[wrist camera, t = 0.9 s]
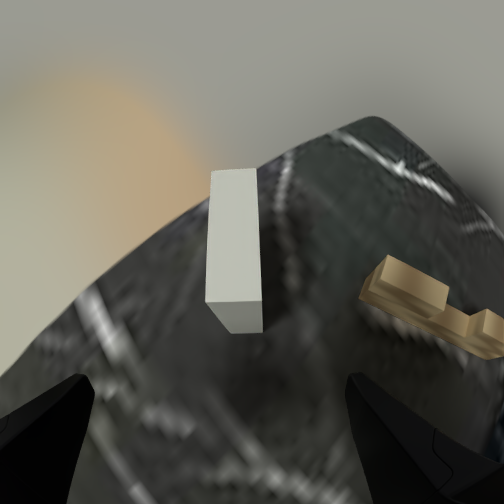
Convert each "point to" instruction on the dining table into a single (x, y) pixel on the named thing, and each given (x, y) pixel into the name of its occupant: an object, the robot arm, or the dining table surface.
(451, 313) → the notched base plate
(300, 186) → the dining table surface
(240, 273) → the grey tapered block
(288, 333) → the dining table surface
